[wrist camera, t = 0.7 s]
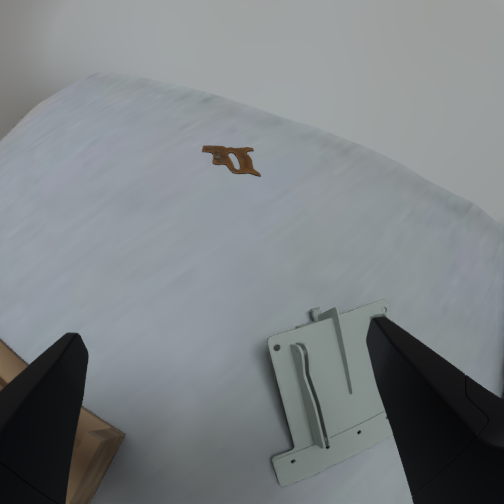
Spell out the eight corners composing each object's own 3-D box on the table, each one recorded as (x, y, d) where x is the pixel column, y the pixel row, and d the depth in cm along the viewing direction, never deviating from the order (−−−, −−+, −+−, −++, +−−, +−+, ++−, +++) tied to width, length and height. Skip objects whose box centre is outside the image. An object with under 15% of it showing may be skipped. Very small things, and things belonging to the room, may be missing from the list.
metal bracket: (242, 335, 20) (414, 279, 25) (227, 331, 26) (375, 287, 30) (291, 507, 18) (438, 428, 23) (268, 477, 24) (400, 416, 28)
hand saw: (46, 180, 30) (44, 176, 29) (58, 151, 32) (56, 147, 32) (260, 181, 34) (261, 177, 34) (257, 151, 36) (258, 147, 36)
